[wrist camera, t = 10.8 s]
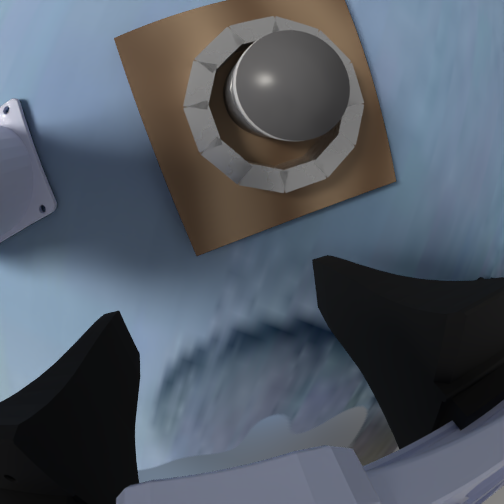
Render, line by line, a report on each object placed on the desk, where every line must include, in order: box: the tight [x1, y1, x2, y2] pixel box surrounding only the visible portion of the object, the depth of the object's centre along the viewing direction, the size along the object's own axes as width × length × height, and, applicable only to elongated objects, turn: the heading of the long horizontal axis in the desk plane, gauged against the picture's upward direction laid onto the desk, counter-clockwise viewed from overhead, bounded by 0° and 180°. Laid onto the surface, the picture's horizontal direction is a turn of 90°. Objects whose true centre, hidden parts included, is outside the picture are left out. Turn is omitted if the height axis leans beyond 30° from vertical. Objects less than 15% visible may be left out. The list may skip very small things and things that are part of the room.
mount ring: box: [183, 16, 364, 193], centre depth 16 cm, size 9×9×2 cm
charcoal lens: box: [223, 30, 350, 142], centre depth 14 cm, size 5×5×5 cm
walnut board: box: [114, 0, 396, 256], centre depth 17 cm, size 14×14×1 cm
